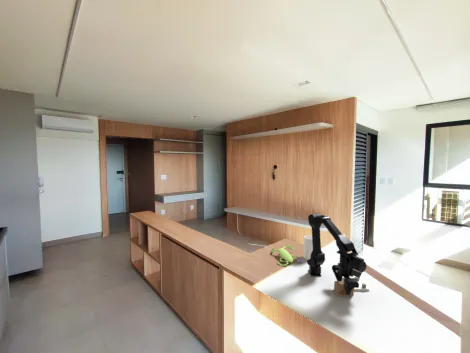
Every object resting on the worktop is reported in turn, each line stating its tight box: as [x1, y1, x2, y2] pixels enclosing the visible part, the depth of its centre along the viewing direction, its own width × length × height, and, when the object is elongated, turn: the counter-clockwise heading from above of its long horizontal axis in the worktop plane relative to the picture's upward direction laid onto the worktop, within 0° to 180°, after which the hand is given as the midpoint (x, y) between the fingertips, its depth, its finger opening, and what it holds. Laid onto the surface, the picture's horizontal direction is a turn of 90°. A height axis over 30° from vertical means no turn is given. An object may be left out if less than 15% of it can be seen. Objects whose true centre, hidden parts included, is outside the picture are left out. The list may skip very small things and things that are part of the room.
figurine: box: [270, 244, 302, 267], centre depth 163 cm, size 18×27×6 cm
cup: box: [302, 234, 313, 261], centre depth 162 cm, size 8×8×16 cm
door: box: [333, 280, 355, 296], centre depth 121 cm, size 10×4×6 cm, turn 90°
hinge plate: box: [342, 276, 370, 292], centre depth 128 cm, size 11×10×3 cm
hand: (343, 289), depth 121 cm, fingers open, 9 cm apart
